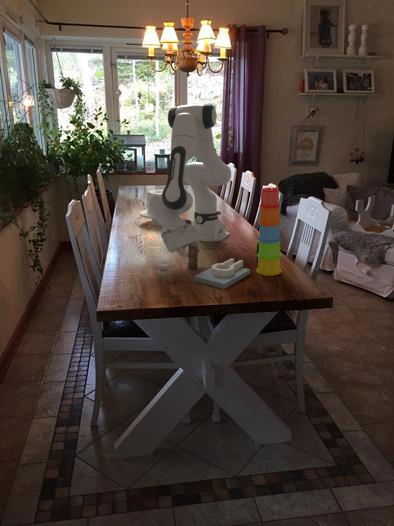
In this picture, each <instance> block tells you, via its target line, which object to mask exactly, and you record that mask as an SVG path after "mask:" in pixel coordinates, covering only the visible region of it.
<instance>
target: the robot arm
mask: <svg viewBox="0 0 394 526" xmlns="http://www.w3.org/2000/svg"><path fill="white" fill-rule="evenodd" d="M217 116H218V115H217V111H216V108H215V106H214V105H213V104H210V103H191V104H183V105H176V106H173V107H170V108H169V110H168V112H167V123H168V126H169V127H170V128H171V129H172V130H171V138H170V156H169V157H170V158H169V167H168V173H167V174H168V175H167V182H166V184H165V186H164V188H163V189H162V190H163V193H162V194H160V193H158V194H156V195H155V196H154V197H153V198H152V199H151V200H150V202H149V208H150V210H151V212H152V214H153V216H154V217H155V219H156V220H157V221H158V222H159V223H160V224H161V228H162V230H163V231H162V232H161V233H160V237H161V239H162V242H163V243H164V246H165V247H166V249H167V250H168V252H170V253H175V252H177V253H178V254H179V255H181V256H182V257H183V259H186V258H187V259H188V256H189V255H188V251H187V252H186V251H184V250H183V249H185V248H188V245H190V244H196V245H198V254H199V253H201V252H202V251H203V250H202V248H201V246H200V245H201V244H200V242H221V241H223V240H225V239H226V238H227V237H229V236H230V231H229V232H228V231H226V225H225V223H224V222H223V221H222V220H221V219H220V218H219V217H220V216H221V214H222V210H221V211H220V210H217V208H218V207H217V206H218V204H217V203H218V198H217V195H216V194H215V193H214V192H212V191H211V190H210V189H209V187H208V186H218V187H219V186H224V185H227V184H228V183H229V182H230V181H231V178H232V170H231V168H230V166H229V165H228V164H226V163H225V162H224V161H223V160H222V159H221V158H220V156H219V155H218V153H217V150H216V148H215V143H214V137H213V131H212V129H213V127H214V126H215V125H216V122H217V118H218V117H217ZM194 157H195V158H196V159H198V160H199V161H192V162H188V161H191V160H192V159H193V158H194ZM184 181H185V182H186V183H187V184H188V185H189V187H190V188H191V190H192V192H193V195H194V198H193V196H192V194H191V193H190V192H188V190H186V188H185V186H184ZM193 199H194V200H193ZM193 202H194V207H195V208H194V212H193V213H194V214H193V217H194V219H193V221H192V220H191V219H185V218H181V216H180V217H179V215H180V214H182V215H183V214H184V213H186V212H187V211H189V210H190V209H191V208H192V206H193Z"/></svg>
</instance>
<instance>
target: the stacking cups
mask: <svg viewBox="0 0 394 526" xmlns="http://www.w3.org/2000/svg"><path fill="white" fill-rule="evenodd" d="M259 208H260V209H259V215H260V218H259V222H258V225H259V235H258V238H257V241H258V242H259V253H258V254H257V256H258V264H257V268H256V272H257V274H259V275H261V276H266V277H267V276H268V277H269V276H272V277H273V276H278V275H280V274H281V273H282V269H281V267H280V266H281V257H282V254H281V243H280V242H281V240H282V239H281V237H280V231H281V229H280V225H281V223H282V222H281V221H280V208H281V205H280V190H279V188H278V187H263V188H262V189H261V191H260V205H259Z"/></svg>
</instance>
